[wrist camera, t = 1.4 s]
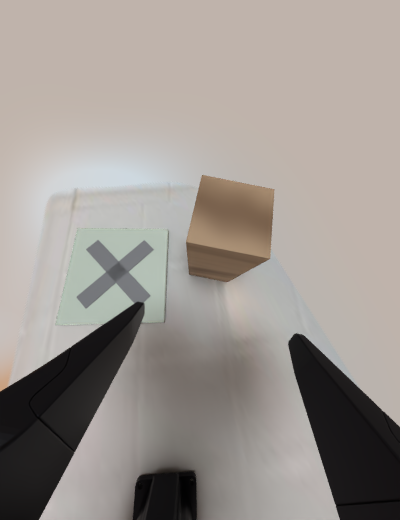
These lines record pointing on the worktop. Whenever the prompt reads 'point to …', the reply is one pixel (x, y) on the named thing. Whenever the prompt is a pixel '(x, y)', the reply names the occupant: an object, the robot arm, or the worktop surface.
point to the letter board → (115, 275)
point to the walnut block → (229, 229)
